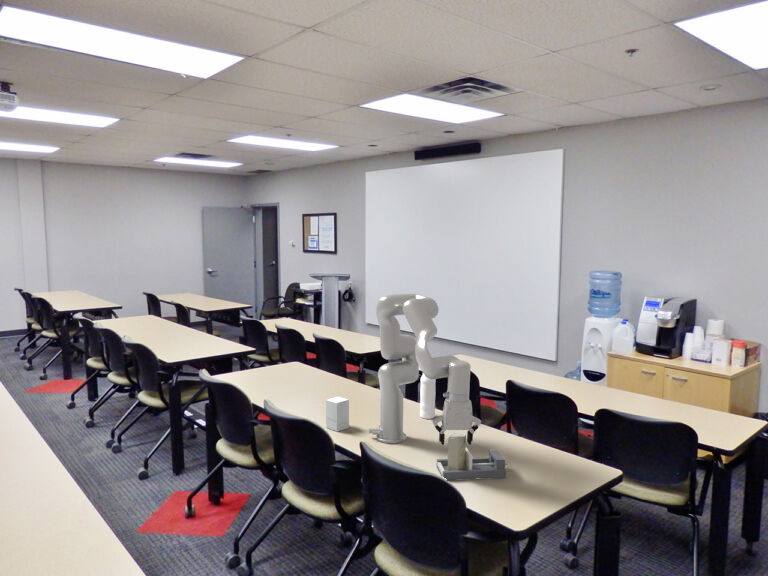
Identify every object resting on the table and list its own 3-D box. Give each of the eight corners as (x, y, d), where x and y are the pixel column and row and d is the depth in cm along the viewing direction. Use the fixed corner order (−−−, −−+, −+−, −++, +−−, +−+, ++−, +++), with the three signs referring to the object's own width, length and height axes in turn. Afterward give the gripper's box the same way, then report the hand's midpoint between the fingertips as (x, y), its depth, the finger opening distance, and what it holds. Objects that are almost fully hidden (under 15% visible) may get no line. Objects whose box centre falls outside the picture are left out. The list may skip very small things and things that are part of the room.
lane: (443, 480, 175) (443, 463, 175) (436, 466, 186) (437, 450, 186) (505, 478, 178) (506, 461, 177) (495, 464, 189) (496, 448, 188)
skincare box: (458, 474, 177) (459, 440, 176) (446, 471, 180) (447, 437, 179) (465, 468, 183) (466, 434, 182) (454, 465, 185) (455, 432, 184)
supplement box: (349, 427, 225) (349, 399, 224) (336, 432, 219) (336, 403, 218) (338, 423, 230) (338, 395, 229) (325, 427, 224) (325, 399, 223)
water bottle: (424, 420, 235) (425, 366, 233) (416, 415, 241) (417, 363, 239) (437, 418, 238) (439, 365, 236) (429, 413, 245) (430, 361, 243)
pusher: (469, 473, 178) (469, 456, 177) (463, 464, 186) (463, 447, 185) (511, 472, 179) (511, 455, 179) (503, 462, 187) (503, 446, 187)
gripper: (435, 400, 175) (433, 448, 176) (485, 399, 176) (482, 447, 178) (431, 392, 182) (429, 439, 184) (479, 392, 184) (476, 438, 186)
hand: (455, 443), depth 181 cm, fingers open, 9 cm apart
